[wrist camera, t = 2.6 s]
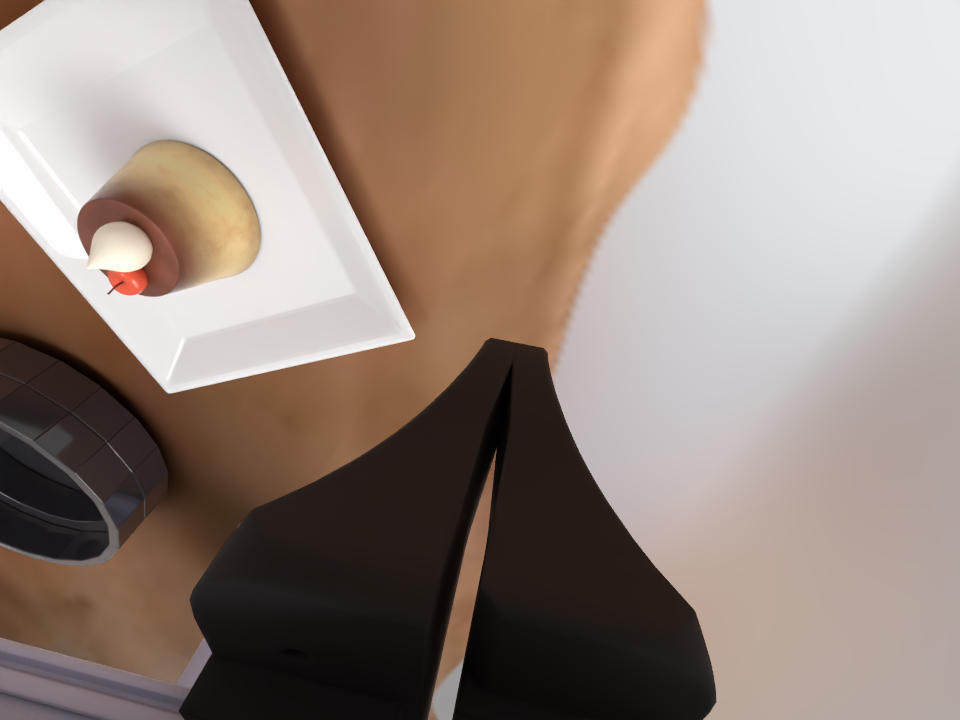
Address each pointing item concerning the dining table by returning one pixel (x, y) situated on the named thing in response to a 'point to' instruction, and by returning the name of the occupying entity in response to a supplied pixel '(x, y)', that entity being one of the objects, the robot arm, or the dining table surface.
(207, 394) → the dining table surface
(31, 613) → the dining table surface
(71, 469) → the pan
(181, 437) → the dining table surface
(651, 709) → the robot arm
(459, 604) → the dining table surface
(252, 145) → the dessert
